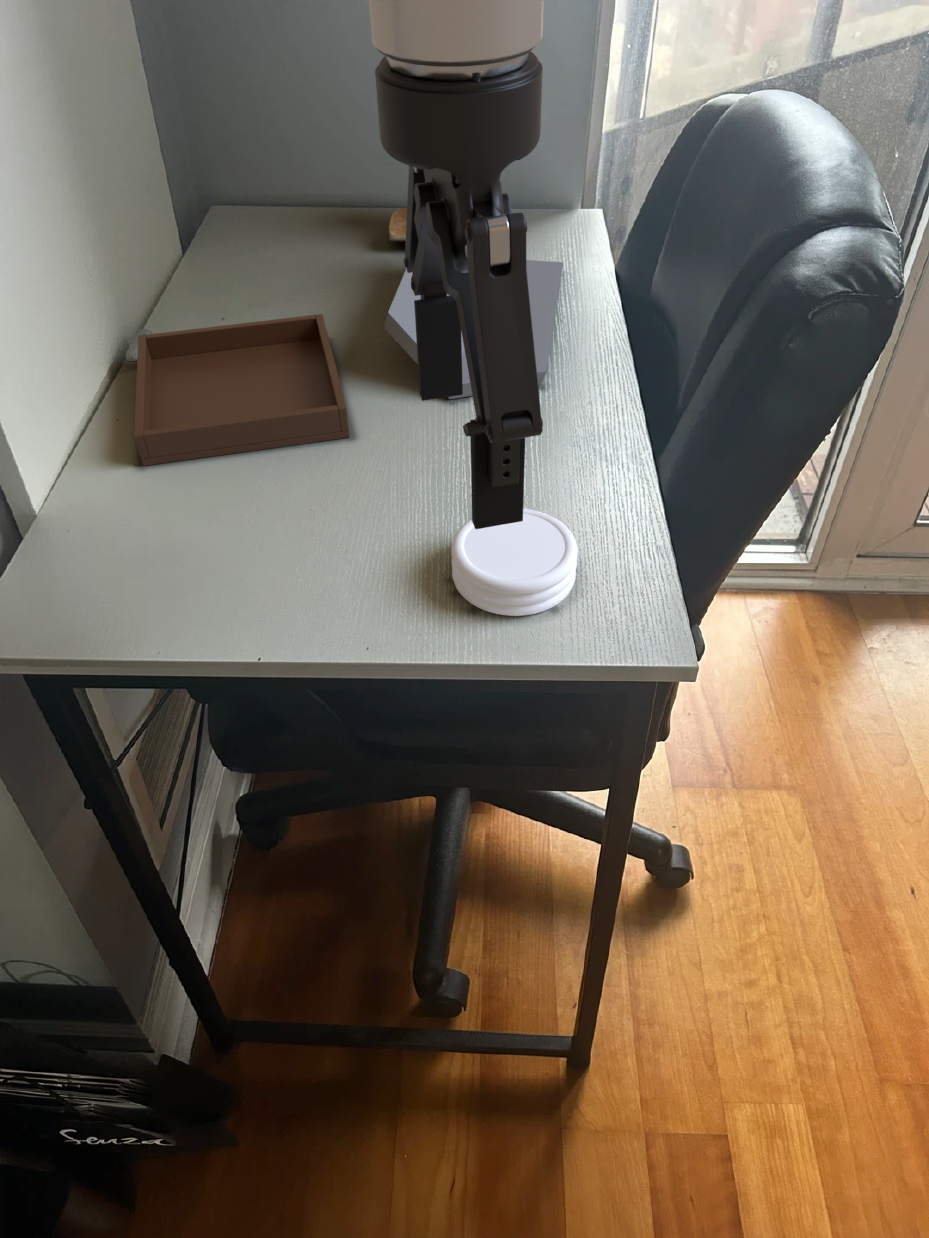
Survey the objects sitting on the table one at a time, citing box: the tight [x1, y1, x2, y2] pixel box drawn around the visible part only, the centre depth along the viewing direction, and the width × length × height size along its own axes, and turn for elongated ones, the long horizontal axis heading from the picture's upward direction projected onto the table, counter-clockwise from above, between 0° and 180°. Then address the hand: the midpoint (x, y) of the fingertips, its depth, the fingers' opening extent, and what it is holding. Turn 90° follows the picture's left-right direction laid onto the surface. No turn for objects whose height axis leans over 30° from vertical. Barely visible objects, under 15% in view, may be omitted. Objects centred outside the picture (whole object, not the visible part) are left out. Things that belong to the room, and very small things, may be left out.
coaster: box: [450, 507, 579, 617], centre depth 75 cm, size 10×10×4 cm
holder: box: [133, 313, 351, 467], centre depth 95 cm, size 20×20×3 cm
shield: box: [383, 259, 564, 400], centre depth 105 cm, size 17×5×30 cm
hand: (467, 453), depth 57 cm, fingers open, 13 cm apart
